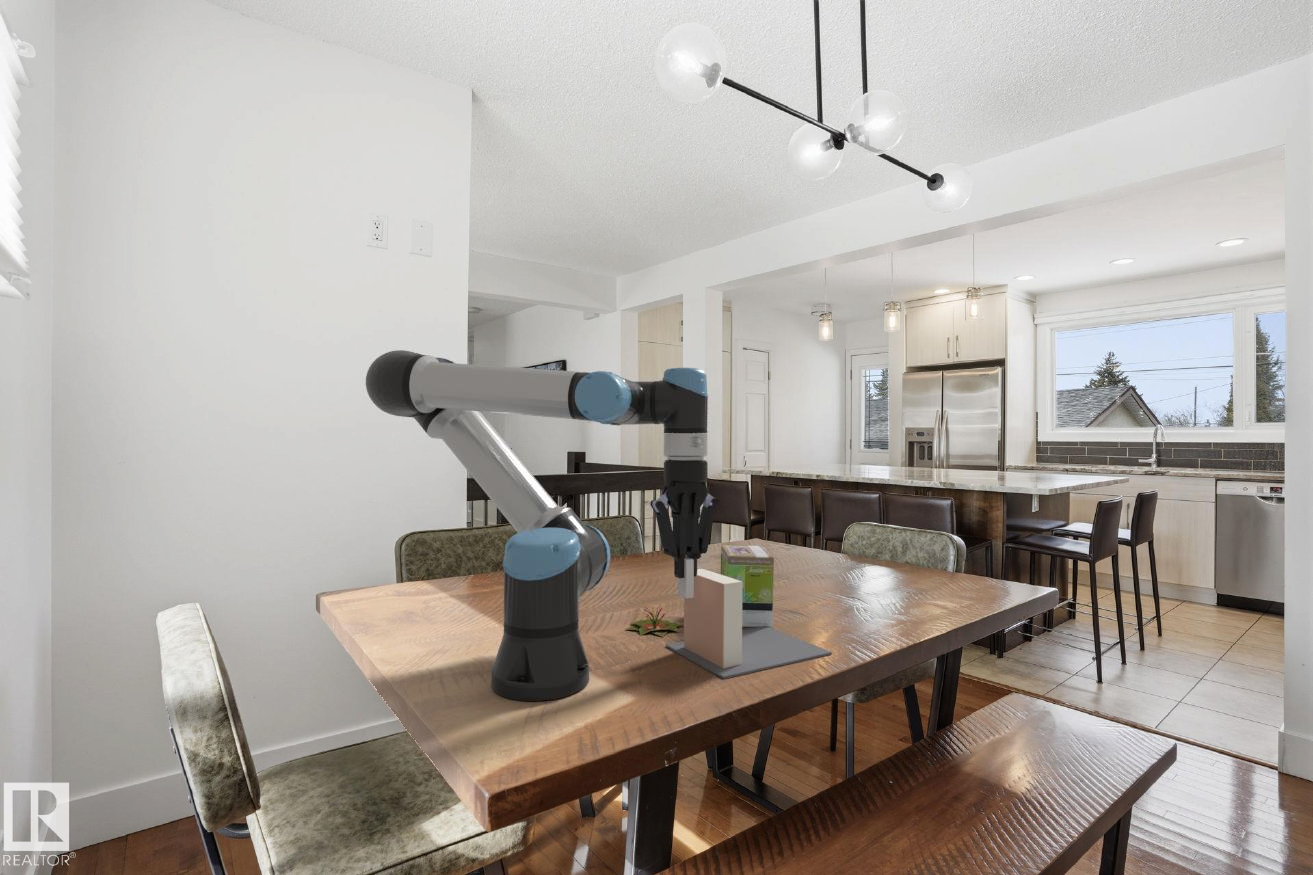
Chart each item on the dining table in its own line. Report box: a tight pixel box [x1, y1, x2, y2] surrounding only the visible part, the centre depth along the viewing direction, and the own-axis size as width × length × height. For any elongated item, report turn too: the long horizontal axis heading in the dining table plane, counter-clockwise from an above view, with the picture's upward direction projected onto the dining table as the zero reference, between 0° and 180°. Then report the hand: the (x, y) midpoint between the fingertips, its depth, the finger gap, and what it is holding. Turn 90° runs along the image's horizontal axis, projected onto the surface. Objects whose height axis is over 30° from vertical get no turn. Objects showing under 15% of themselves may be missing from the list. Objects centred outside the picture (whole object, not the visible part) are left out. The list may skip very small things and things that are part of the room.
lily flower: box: [624, 607, 683, 638], centre depth 127 cm, size 12×12×5 cm
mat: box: [665, 626, 833, 680], centre depth 113 cm, size 24×18×1 cm
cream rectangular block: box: [683, 568, 743, 668], centre depth 110 cm, size 4×12×14 cm, turn 30°
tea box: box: [720, 544, 775, 628], centre depth 135 cm, size 15×10×15 cm
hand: (685, 596), depth 106 cm, fingers closed
